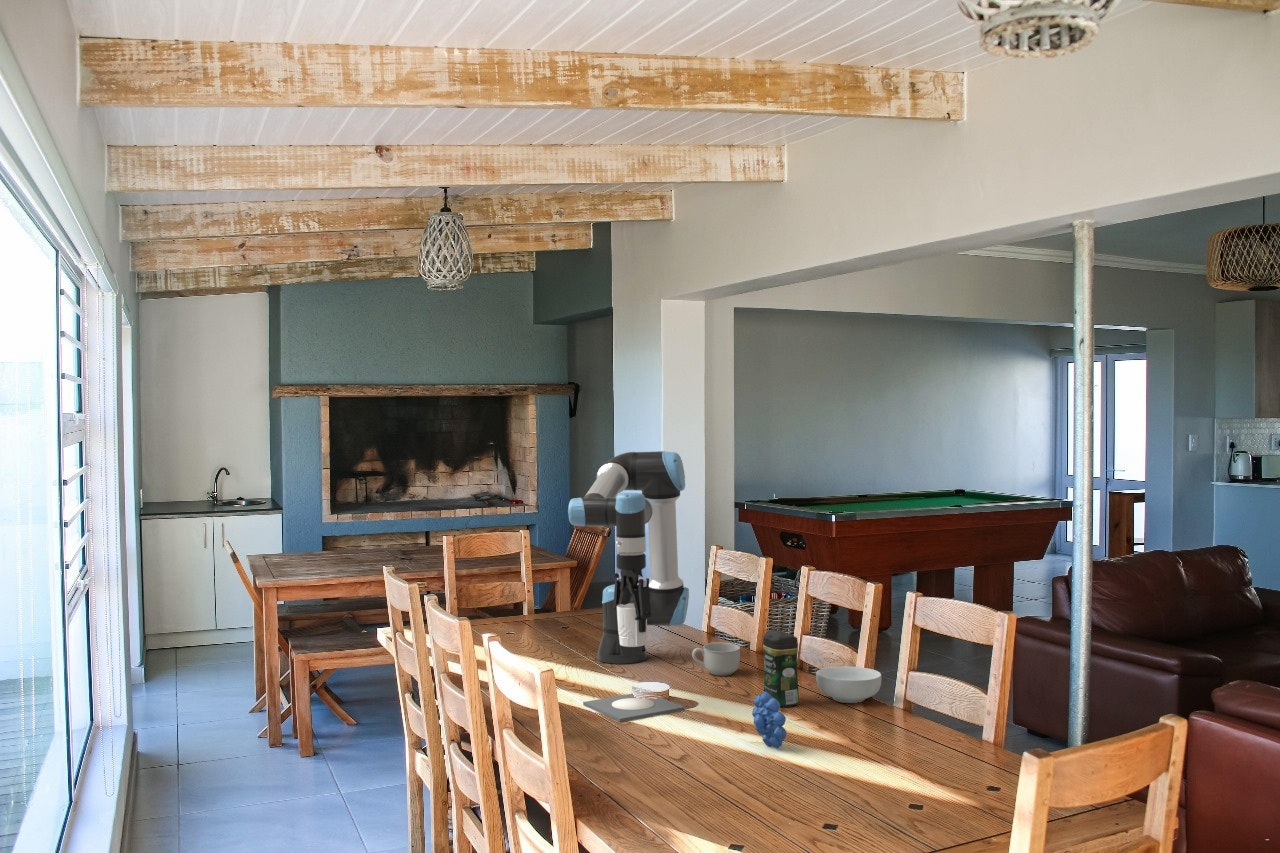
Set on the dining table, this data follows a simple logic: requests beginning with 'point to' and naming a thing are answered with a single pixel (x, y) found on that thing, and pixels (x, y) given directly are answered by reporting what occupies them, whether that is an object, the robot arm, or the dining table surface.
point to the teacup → (719, 658)
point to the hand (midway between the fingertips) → (632, 641)
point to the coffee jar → (781, 667)
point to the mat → (632, 707)
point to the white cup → (627, 624)
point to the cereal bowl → (848, 683)
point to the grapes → (769, 720)
